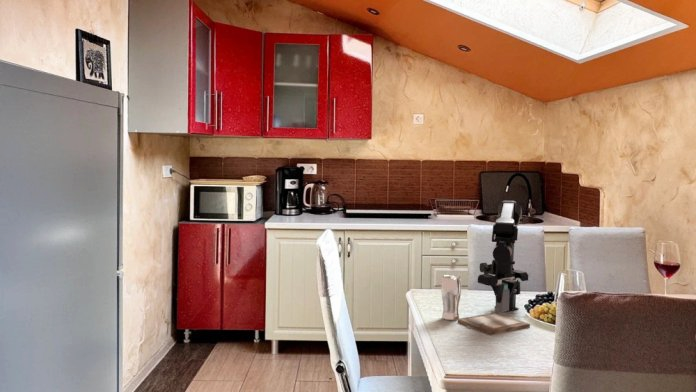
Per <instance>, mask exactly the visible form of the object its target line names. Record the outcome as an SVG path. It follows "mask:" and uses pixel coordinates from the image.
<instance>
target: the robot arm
mask: <svg viewBox="0 0 696 392" xmlns="http://www.w3.org/2000/svg"><path fill="white" fill-rule="evenodd" d="M522 210H523V209H522V205H520V204H518V203H517V202H516V201H515V200H502V202H501V204H499V205H498V211H497V212H498V213H497V215H498V218H496V219H495V222H494V223H493V225H492V234H491V243H495V247H494V248H493V250H492V257H493V259H492V260H491V264H490V263H489V264H488V263H487V262H481V263H479V272H480V273H483V274H479V275H478V276H477V283H478V284H480V285H485V286H490V287H491V288H492V290H493V294H494V296H495V301H496V300H497V302H498V303H500V302H501V299H502V294H503V290H504V285H503V284H502V283H507V284H508V289H510V292H509V311H508V312H510V311H512V312H513V311H517V310H519V307H517V306H516V300H517V295H521V282H526V281H529V274H528V272H527V271H523V270H520V269H514V265H515V264H516V261H515V260H514V259H515V258H514V257H515V244H516V241H518V238H519V237H518V234H519V228H518V226H519V224H520V222H521V221H520V219H522V216H523V215H522V214H523V212H522ZM519 279H520V280H519ZM520 281H521V282H520ZM494 308H496V305H495V306H494Z"/></svg>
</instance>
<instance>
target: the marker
mask: <svg viewBox="0 0 696 392" xmlns="http://www.w3.org/2000/svg"><path fill="white" fill-rule="evenodd" d="M502 284H503V285H504V290H503V294H502V299H501V302H500V303H498V302H497V300H496V299H495V306H496V308H495V307H494V308H495V310H496V311H499V312H500V313H502V312H510V311H509V292H510V289H508V284H507V283H502Z"/></svg>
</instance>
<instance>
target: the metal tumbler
mask: <svg viewBox="0 0 696 392" xmlns="http://www.w3.org/2000/svg"><path fill="white" fill-rule="evenodd" d="M461 278H462V277H461V276H460V275H457V274H456V275H455V274H445V275H442V276H441V290H440V291H441V292H440V293H441V299H442V306H443V307H442V308H443V309H442V310H443V311H442V315H441V318H442V319H443V320H445V321H450V322H452V321H453V322H454V321H455V322H456V321H458V319H460V313H459V306H460V302H461V301H460V300H461V295H462V279H461Z"/></svg>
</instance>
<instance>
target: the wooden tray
mask: <svg viewBox="0 0 696 392" xmlns="http://www.w3.org/2000/svg"><path fill="white" fill-rule="evenodd" d="M457 323H458V324H461V325H463V326H466V327H469V328H471V329H474V330H477V331H479V332H481V333H484V334H487V335H489V336H492V335H497V334H502V333H507V332H513V331H518V330H523V329H528V328H530V327H531V323H529V322H526V321H523V320H521V319H517V318H515V317H511V316H508V315H505V314H503V313H501V312H496V311H495V312H489V313H483V314H479V315H478V314H477V315H473V316H467V317H461V318H460V317H459V319H458V320H457Z"/></svg>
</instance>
